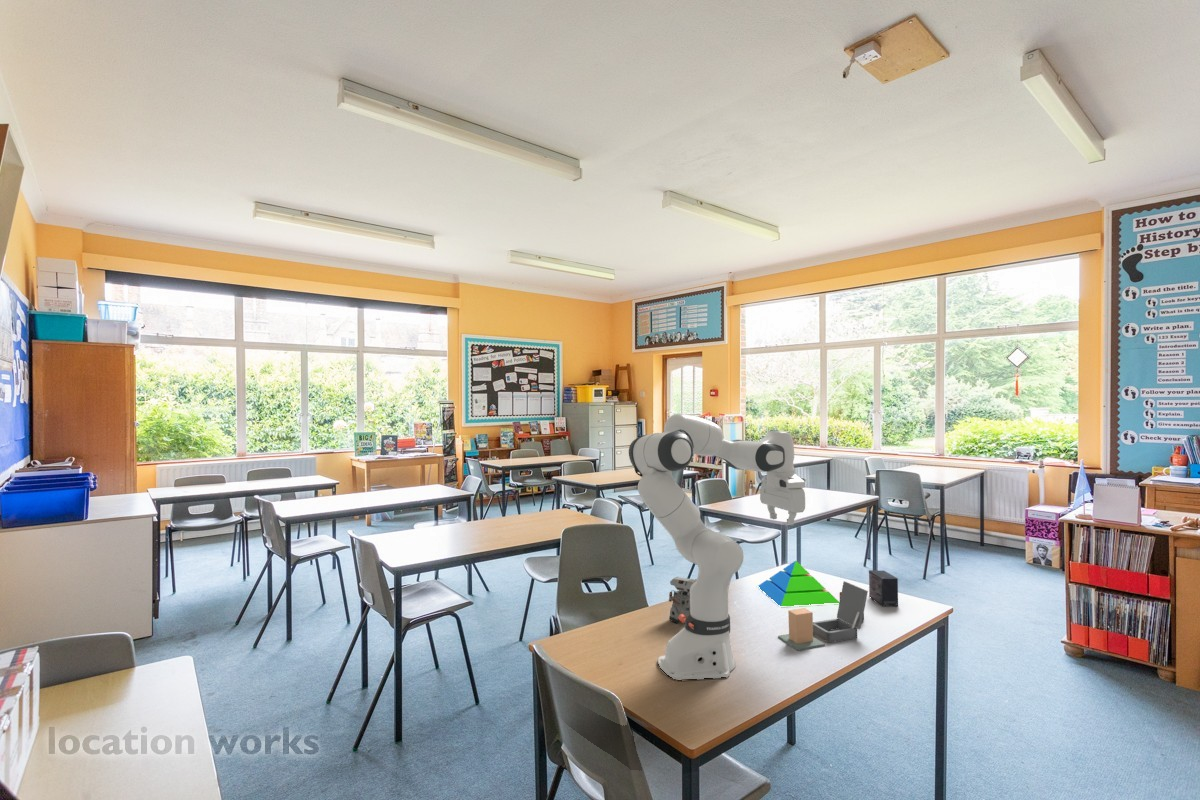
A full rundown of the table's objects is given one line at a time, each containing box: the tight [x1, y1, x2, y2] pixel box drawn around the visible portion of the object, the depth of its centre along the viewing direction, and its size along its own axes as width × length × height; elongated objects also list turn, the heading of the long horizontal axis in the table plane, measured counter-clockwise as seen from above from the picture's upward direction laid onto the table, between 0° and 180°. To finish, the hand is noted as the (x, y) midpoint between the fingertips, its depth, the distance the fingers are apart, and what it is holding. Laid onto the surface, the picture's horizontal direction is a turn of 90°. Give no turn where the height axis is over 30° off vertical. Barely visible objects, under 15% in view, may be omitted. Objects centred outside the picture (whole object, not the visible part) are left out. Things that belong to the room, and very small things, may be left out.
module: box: [787, 607, 814, 644], centre depth 176 cm, size 6×4×9 cm, turn 106°
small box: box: [868, 569, 899, 607], centre depth 209 cm, size 11×6×10 cm, turn 179°
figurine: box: [668, 576, 697, 624], centre depth 194 cm, size 9×12×15 cm
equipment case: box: [813, 580, 869, 643], centre depth 181 cm, size 15×10×15 cm, turn 106°
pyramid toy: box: [757, 560, 840, 606], centre depth 219 cm, size 25×25×14 cm
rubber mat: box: [777, 633, 826, 651], centre depth 176 cm, size 10×10×1 cm
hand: (781, 521), depth 181 cm, fingers open, 8 cm apart
